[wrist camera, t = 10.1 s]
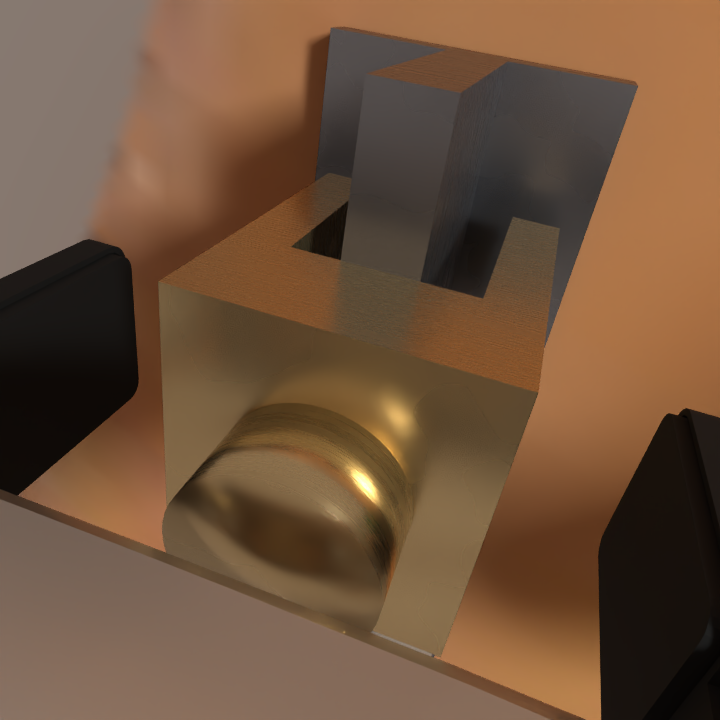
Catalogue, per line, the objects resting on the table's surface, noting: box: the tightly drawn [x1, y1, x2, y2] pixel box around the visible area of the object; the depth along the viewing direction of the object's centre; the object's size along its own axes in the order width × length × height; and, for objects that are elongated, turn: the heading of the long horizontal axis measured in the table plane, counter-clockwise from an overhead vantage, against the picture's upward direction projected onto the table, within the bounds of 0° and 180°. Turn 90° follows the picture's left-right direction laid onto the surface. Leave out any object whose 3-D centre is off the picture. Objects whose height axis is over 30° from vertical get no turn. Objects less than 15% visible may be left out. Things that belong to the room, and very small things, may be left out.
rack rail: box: [315, 27, 638, 657], centre depth 16 cm, size 6×22×6 cm, turn 171°
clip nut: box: [158, 173, 560, 657], centre depth 10 cm, size 5×5×8 cm
